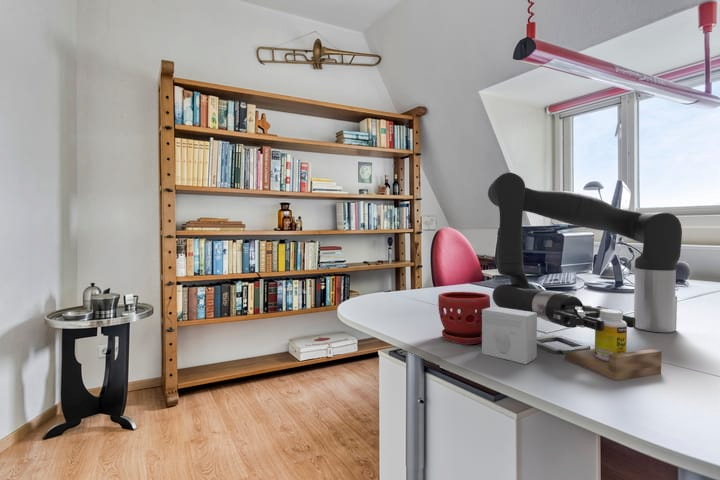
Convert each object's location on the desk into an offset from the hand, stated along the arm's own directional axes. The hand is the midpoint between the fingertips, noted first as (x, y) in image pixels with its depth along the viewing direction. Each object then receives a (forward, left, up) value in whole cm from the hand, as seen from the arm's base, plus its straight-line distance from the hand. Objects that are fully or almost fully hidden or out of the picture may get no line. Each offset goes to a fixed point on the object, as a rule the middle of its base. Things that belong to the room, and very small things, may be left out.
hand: (618, 324), depth 77 cm
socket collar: (0, -16, -9) cm, 18 cm away
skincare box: (+16, -14, -10) cm, 23 cm away
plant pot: (+19, -28, -9) cm, 35 cm away
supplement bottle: (0, -2, -8) cm, 8 cm away
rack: (0, -2, -9) cm, 9 cm away
